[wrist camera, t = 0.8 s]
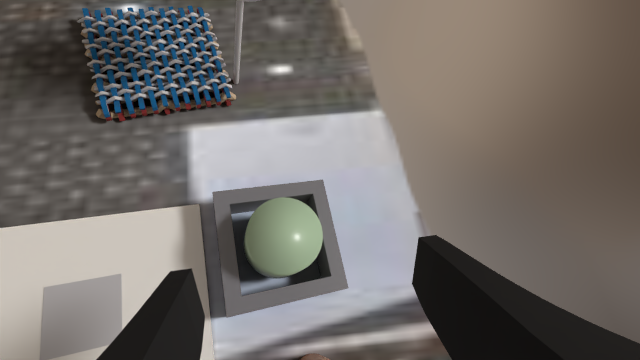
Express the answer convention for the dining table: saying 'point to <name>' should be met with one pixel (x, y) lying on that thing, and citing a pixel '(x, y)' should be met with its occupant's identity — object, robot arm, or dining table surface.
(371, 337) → the dining table surface
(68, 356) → the paper
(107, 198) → the dining table surface
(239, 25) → the lollipop
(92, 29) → the woven mat
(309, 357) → the marker terracotta
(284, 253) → the button
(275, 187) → the button housing
